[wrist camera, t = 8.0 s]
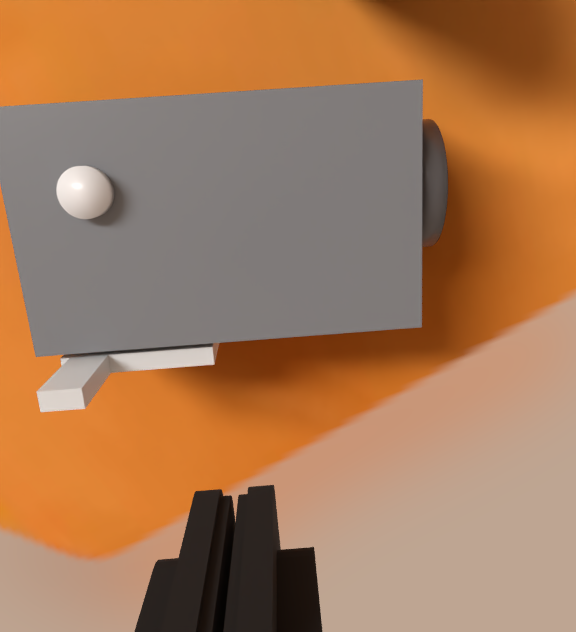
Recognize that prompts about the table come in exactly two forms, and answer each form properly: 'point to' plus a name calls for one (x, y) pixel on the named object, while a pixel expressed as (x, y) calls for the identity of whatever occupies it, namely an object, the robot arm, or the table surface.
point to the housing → (222, 214)
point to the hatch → (94, 368)
